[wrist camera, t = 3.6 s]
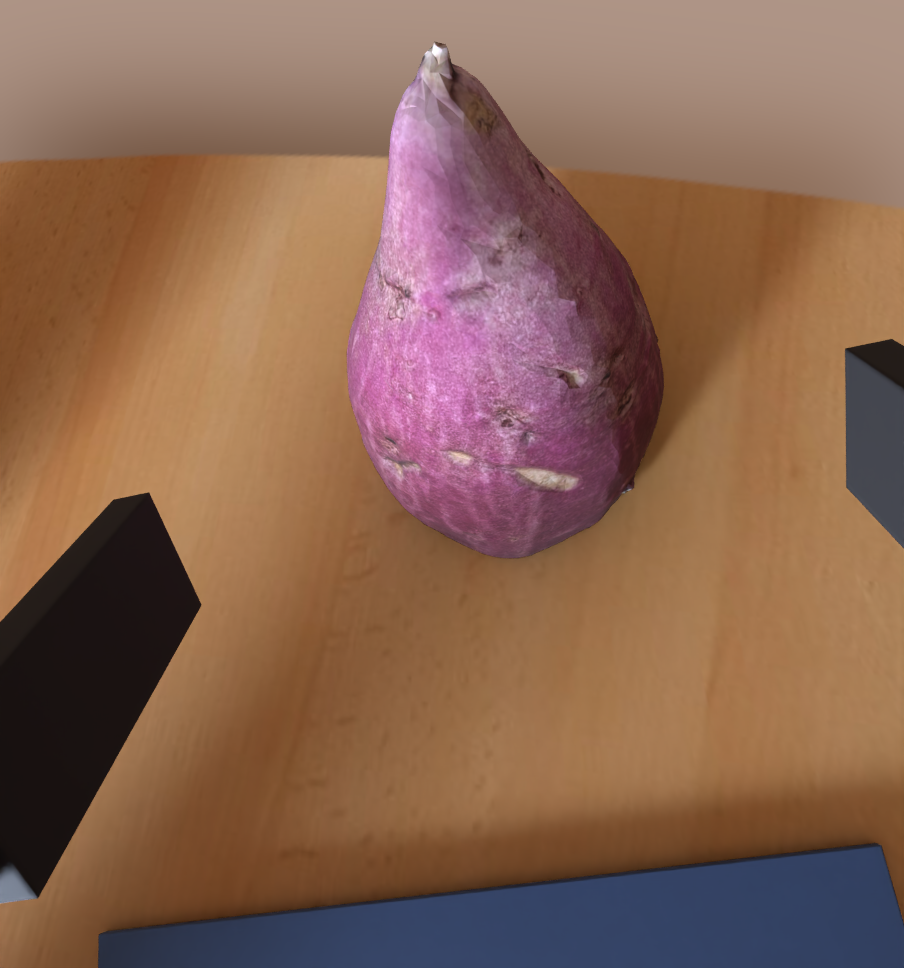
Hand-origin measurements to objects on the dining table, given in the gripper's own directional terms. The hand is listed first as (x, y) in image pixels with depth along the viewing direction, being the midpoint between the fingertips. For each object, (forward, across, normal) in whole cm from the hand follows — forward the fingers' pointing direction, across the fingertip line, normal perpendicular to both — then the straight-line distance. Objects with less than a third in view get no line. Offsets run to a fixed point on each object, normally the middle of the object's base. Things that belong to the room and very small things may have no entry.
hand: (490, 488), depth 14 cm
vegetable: (+13, 0, -4) cm, 14 cm away
